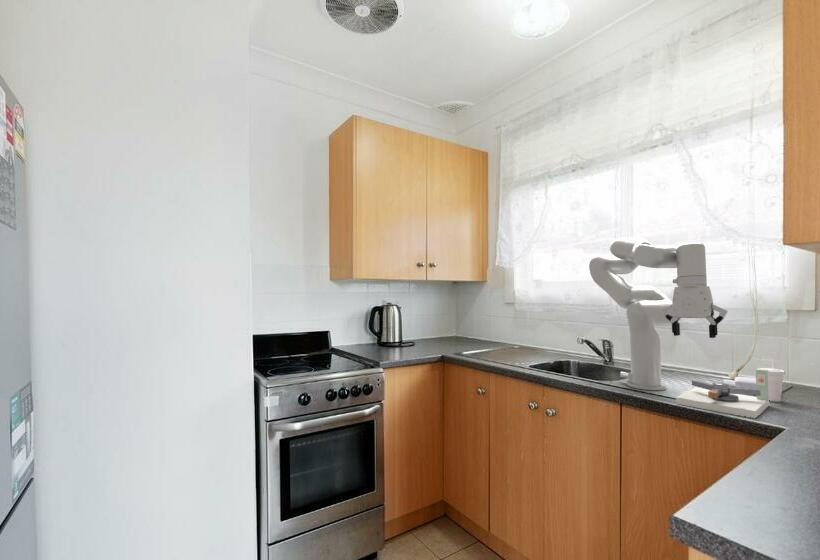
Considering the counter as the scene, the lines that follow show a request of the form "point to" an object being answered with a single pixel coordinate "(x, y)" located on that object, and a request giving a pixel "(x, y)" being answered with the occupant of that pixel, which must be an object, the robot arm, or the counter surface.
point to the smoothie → (775, 382)
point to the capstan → (724, 390)
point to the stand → (742, 407)
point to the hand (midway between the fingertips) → (694, 336)
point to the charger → (741, 382)
